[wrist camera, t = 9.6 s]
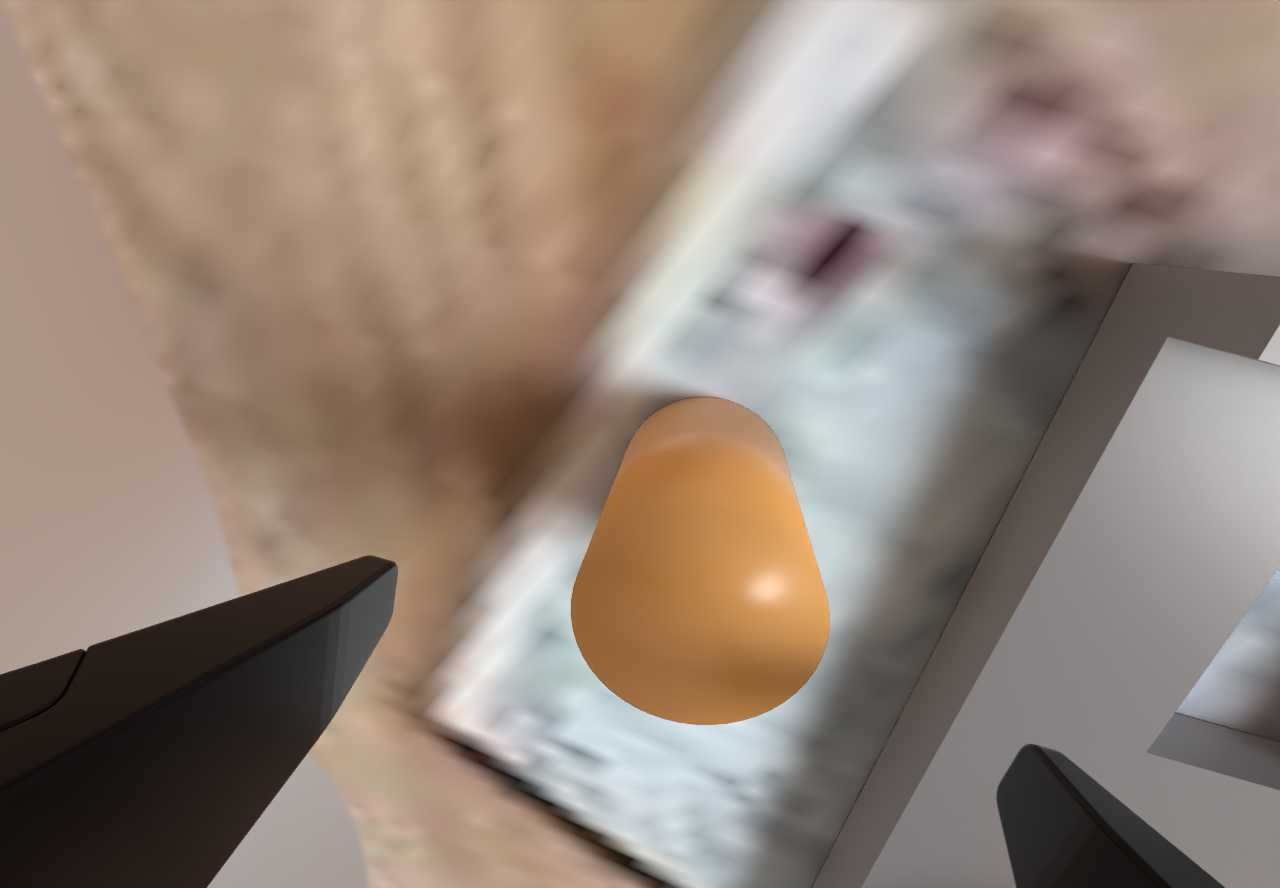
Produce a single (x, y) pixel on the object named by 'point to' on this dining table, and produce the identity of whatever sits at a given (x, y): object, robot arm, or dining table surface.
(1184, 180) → the dining table surface
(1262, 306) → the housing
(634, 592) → the orange rounded plug
